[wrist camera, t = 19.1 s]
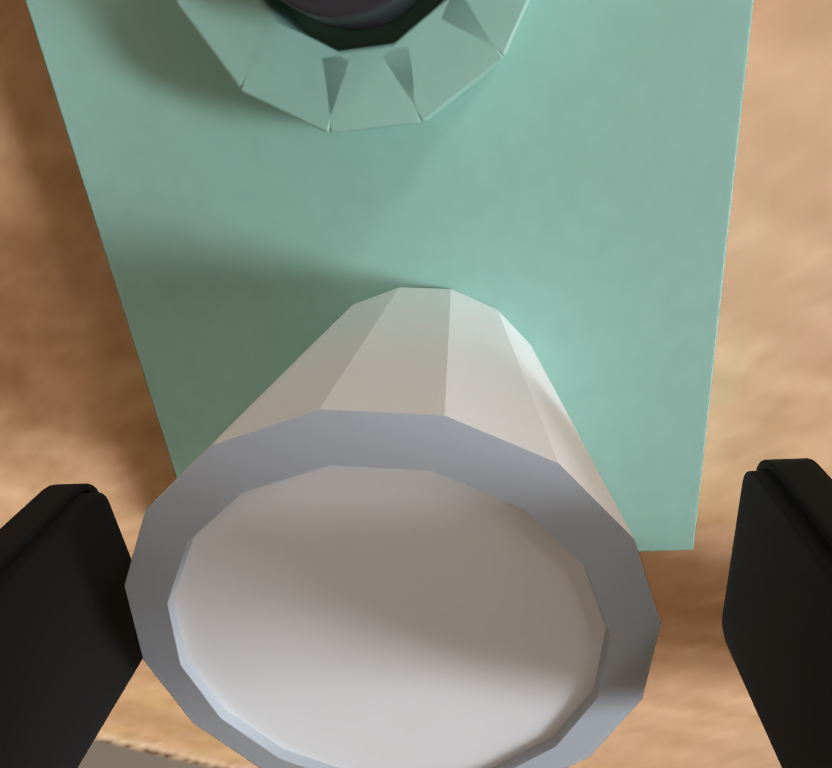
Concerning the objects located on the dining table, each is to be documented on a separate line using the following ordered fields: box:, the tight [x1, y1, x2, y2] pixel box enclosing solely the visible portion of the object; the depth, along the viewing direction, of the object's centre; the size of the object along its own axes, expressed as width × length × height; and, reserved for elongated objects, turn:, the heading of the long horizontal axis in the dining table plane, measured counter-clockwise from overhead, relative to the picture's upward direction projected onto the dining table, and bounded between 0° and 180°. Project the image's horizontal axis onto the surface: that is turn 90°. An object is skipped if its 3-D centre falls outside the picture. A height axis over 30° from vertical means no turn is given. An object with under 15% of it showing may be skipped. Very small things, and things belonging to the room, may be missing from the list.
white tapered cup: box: [125, 287, 661, 768], centre depth 11 cm, size 7×7×7 cm
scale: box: [25, 0, 754, 551], centre depth 12 cm, size 16×13×4 cm
